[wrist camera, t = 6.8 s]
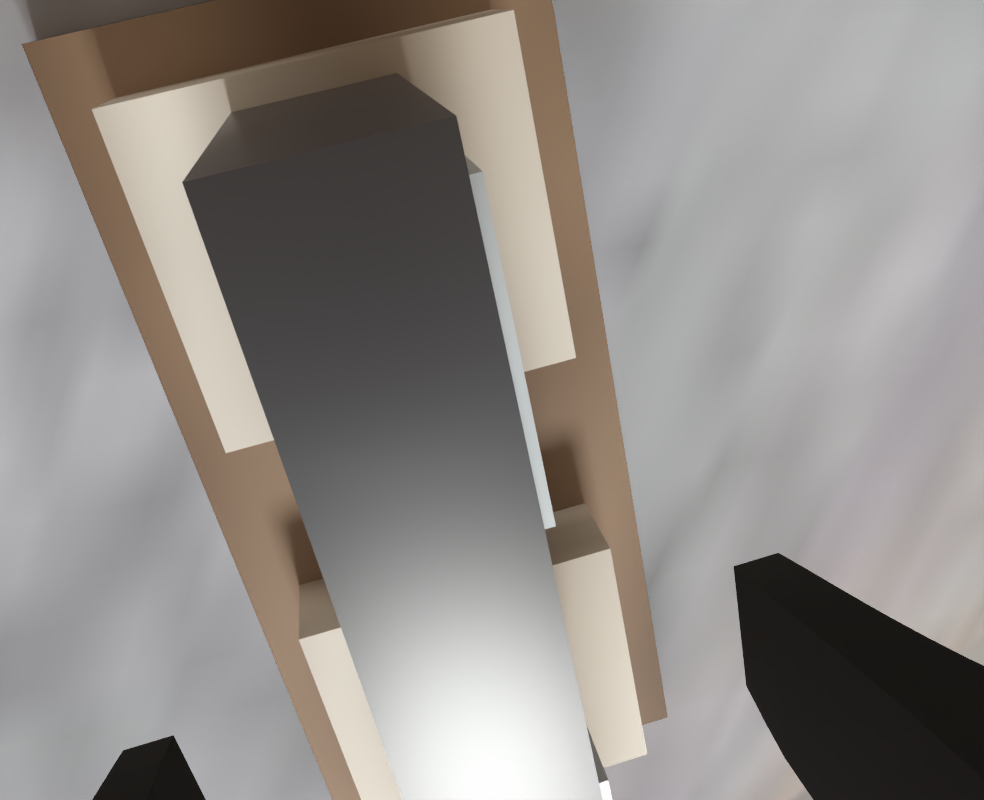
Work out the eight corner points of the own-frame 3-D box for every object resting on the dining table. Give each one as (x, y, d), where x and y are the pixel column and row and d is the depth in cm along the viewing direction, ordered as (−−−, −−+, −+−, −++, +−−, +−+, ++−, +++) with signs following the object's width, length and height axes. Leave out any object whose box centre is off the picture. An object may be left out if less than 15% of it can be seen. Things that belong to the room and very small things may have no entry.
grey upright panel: (230, 111, 12) (181, 182, 7) (412, 70, 13) (480, 110, 8) (450, 796, 18) (503, 1084, 14) (570, 758, 19) (665, 1029, 14)
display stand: (339, 791, 21) (349, 1013, 16) (36, 41, 14) (-101, 61, 9) (655, 693, 22) (750, 880, 17) (528, -70, 14) (634, -107, 10)
